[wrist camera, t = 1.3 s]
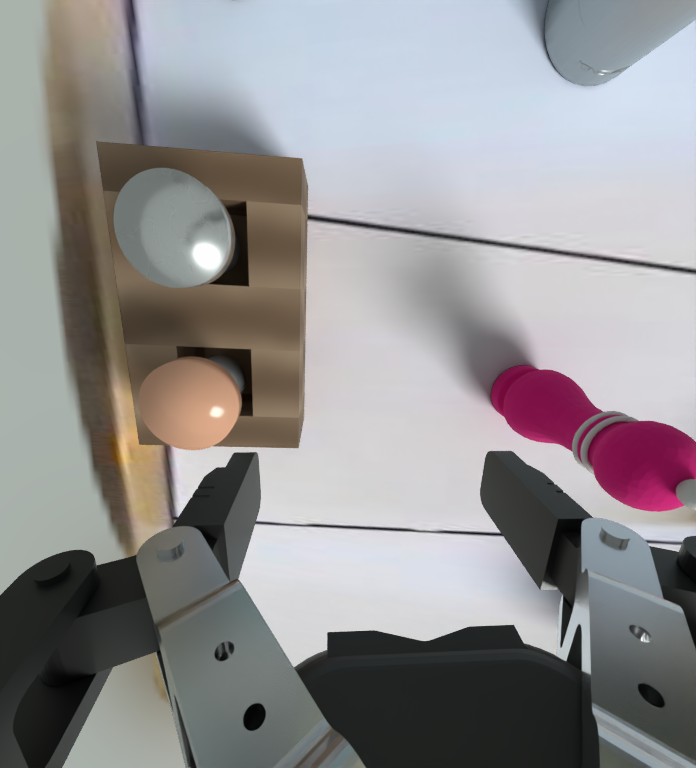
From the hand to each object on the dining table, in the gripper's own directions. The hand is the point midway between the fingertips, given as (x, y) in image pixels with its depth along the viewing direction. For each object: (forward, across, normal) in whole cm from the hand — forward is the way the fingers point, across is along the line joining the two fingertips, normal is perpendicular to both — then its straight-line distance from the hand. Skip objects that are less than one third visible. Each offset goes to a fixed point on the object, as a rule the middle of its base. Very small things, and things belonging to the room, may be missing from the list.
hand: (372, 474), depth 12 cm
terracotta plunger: (+18, +11, +2) cm, 22 cm away
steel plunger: (+19, +11, -9) cm, 23 cm away
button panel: (+24, +11, -4) cm, 27 cm away
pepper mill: (+25, -20, +5) cm, 32 cm away
